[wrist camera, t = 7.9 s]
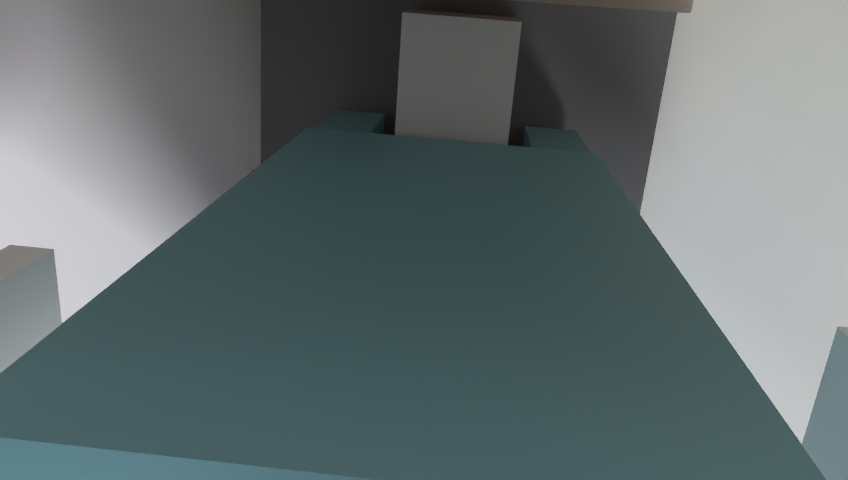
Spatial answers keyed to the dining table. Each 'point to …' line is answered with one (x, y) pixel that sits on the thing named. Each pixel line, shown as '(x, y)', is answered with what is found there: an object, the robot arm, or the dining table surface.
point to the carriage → (399, 333)
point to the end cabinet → (629, 4)
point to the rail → (550, 88)
